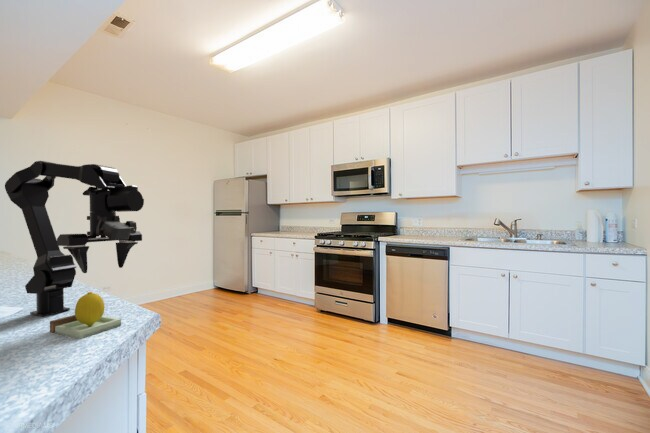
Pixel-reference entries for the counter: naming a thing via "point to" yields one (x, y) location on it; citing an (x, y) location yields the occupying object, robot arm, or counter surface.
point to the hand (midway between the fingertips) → (103, 270)
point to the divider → (61, 322)
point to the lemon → (89, 308)
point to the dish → (87, 327)
